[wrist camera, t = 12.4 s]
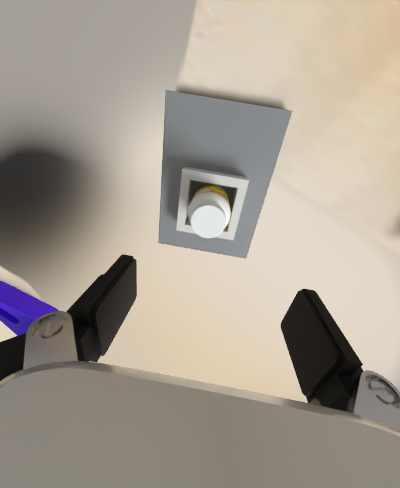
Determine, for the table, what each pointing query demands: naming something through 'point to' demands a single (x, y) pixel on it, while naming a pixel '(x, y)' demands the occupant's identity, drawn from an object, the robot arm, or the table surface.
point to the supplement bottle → (209, 211)
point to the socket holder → (217, 166)
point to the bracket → (20, 308)
